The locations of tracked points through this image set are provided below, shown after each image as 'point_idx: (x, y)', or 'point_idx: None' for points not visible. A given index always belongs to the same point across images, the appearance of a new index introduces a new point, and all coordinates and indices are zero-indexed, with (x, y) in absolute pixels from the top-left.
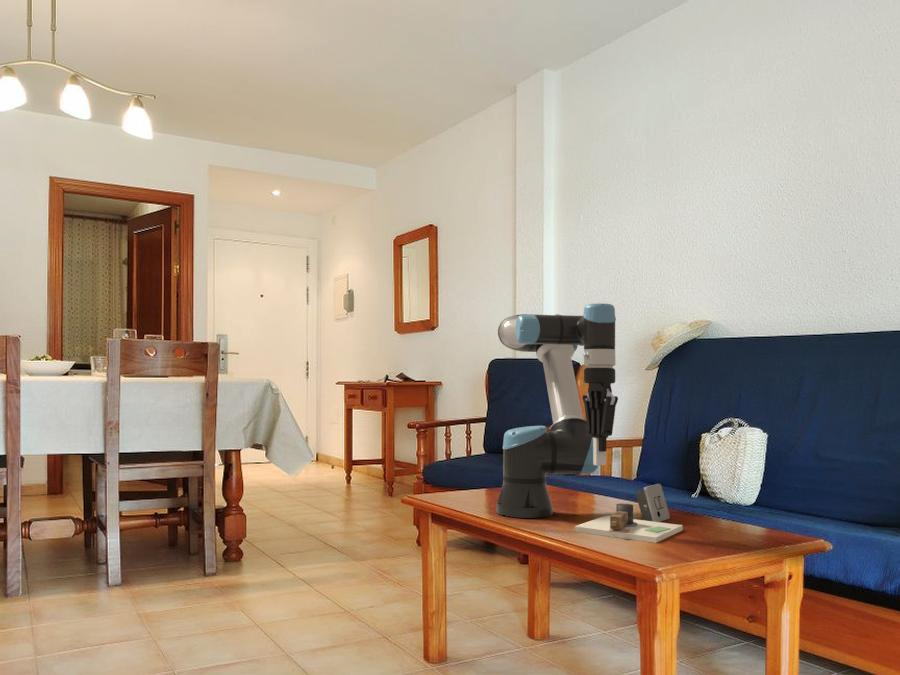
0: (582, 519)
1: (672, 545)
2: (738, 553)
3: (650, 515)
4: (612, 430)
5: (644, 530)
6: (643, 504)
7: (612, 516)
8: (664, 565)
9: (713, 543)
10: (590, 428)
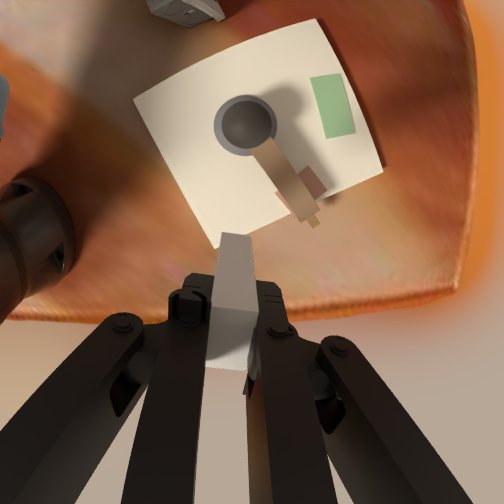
0: (106, 147)
1: (404, 158)
2: (473, 119)
3: (205, 15)
4: (369, 364)
5: (326, 138)
6: (182, 13)
7: (304, 218)
8: (454, 268)
9: (423, 81)
10: (136, 396)
